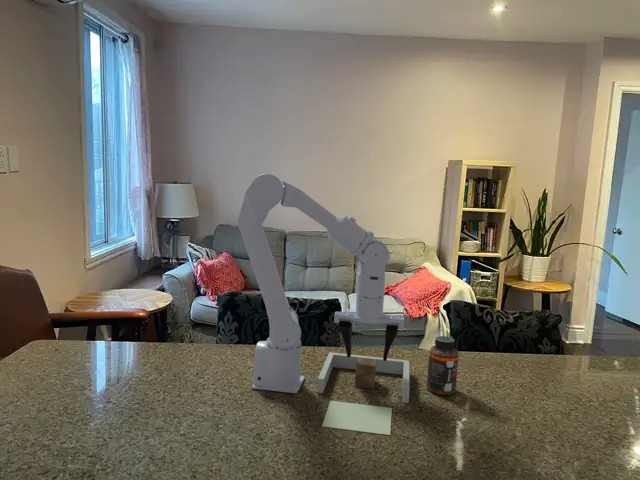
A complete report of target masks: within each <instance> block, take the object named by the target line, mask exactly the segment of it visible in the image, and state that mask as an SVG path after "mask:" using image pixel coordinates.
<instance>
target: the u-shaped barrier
mask: <svg viewBox="0 0 640 480" xmlns="http://www.w3.org/2000/svg"><path fill="white" fill-rule="evenodd" d="M358 357H360V358H369V359H376V371H375V373H384V374H392V375H393V374H394V375H402V403H403V404H409V401H410V388H411V387H410V360H407V359H397V358H389V357H387V361H383V357H378V356H377V357H376V356H368V355H361V354H360V355H359V354H351V356H350V357H347V353H342V352H341V353H340V352H330V351H329V352H328V354H327V357H326V359H325V361H324V363H323V366H322V368H321V371H320V372H319V374H318V375H319V376H318V377H317V387H316V388H317V389H316V392H317V393H319V394H323V393H324V392H325V388H326V386H327V383H328V382H329V379H330V376H331V374H332V371H333V368H339V369H346V370H347V369H349V370H356V363H357V359H358Z"/></svg>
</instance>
